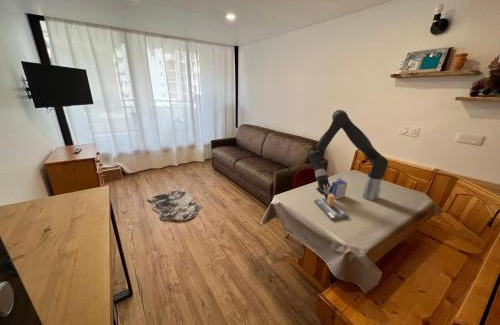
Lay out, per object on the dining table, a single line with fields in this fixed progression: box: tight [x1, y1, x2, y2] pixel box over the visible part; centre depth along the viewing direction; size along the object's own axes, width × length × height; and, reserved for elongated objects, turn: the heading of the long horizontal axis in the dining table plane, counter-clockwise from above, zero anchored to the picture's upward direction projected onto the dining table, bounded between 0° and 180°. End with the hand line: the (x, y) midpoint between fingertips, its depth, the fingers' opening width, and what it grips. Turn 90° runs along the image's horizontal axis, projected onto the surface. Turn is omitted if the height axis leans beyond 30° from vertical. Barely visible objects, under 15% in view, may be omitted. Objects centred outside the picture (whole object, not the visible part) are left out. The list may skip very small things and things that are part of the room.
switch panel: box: [314, 197, 349, 221], centre depth 136 cm, size 12×21×4 cm, turn 12°
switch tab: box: [326, 193, 335, 207], centre depth 135 cm, size 3×3×8 cm
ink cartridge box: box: [330, 177, 348, 200], centre depth 149 cm, size 10×6×14 cm, turn 113°
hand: (328, 200), depth 138 cm, fingers closed
